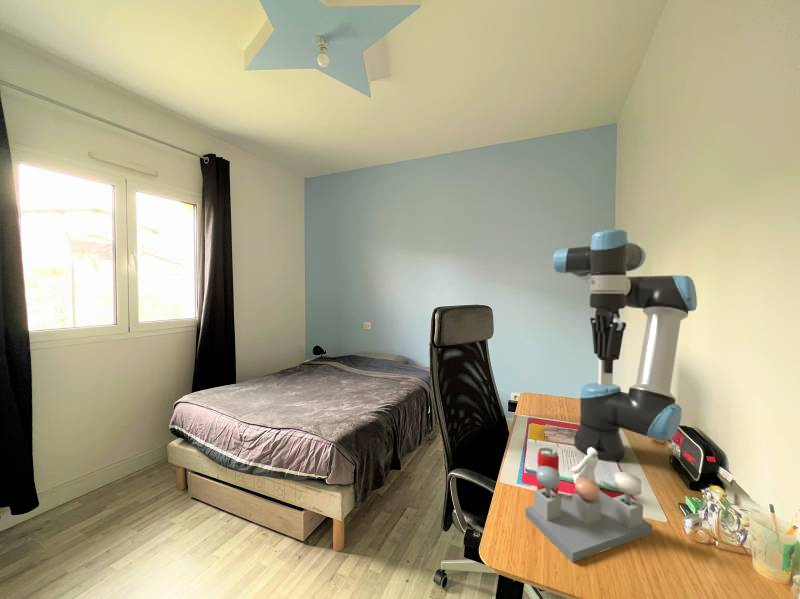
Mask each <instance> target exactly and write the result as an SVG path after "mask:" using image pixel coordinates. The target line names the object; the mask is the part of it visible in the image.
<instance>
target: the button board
mask: <svg viewBox="0 0 800 599" xmlns="http://www.w3.org/2000/svg"><path fill="white" fill-rule="evenodd" d="M533 491H534V496H533V497H534V501H533V505H532V506H531V505H530V506H527V507H525V509H524V510H525V513H524V514H525V515H524V516H525V517H526V518H527V519H528V520H529V522H531V523H532V524H533V525H534V526H535V527H536V528H537V529H538V530H539V531H540V532H541V533H542V534H543V535H544V536H545V537H546V538H547V539H548V540H549V541H550V542H551V543H552V544H553V545H554V546H555V547H556V548H557V549H558V550H559V551H560V552H561V553H562V554H563V555H564V556H565V557H566V558H567V559H568V560H569V561H570V562H571V563H575V562H578V561H580V560H583V558H584V559H586V558H589V557H591V556H590V555H592V556H594V555H593V554H595V555H596V553H597V552H600V551H602V550H605V549H608V548H611V549H613V548H612V547H614V548H616V547H615V546H617V547H619V546H622V545H625V544H627V543H631V542H632V541H636V540H638V539H641V538H644V537H647V536H651V535H652V534H653V525H652V524H651V523H649V522H648V521H647V520H645V519H644V505H643V504H641V503H639V502H638V501H636V500H635V499H633V498H632V497H631V505H630V506H628V505H627V504H625V503H624V494H621V495H618V496H615V497H611V496H609V495H608V494H606V493H604V492H603V491H602V490H600V489H599V499H598V500H595V501H591V500H590V501H589V502H587V501H585V500H584V498H582V497H580V496H579V495H578V494H577V493H576V492H575V493H573V494H572V495H568V496H564V497H561V496H560V495H559V494H558V495H557V494H555V493H554V492H553V491H552V490H550V498H546V497H545V488H544V489H540V490H533ZM618 545H619V546H618ZM608 550H609V549H608ZM600 553H601V552H600ZM597 554H598V553H597ZM588 556H589V557H588ZM585 557H586V558H585Z"/></svg>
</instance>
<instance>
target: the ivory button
mask: <svg viewBox="0 0 800 599" xmlns="http://www.w3.org/2000/svg"><path fill="white" fill-rule="evenodd" d="M614 487H616V489H618V490H619V491H620V492H623V493H624V494H623V495H624V503H625V504H627V505H628V506H630V505H631V498H632V496H639V495H641V494H642V480H641V479H640V478H639V477H638V476H636V475H634V474H632V473H629V472H624V471H617V472H615V474H614ZM631 495H632V496H631Z"/></svg>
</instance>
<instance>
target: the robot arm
mask: <svg viewBox="0 0 800 599" xmlns="http://www.w3.org/2000/svg"><path fill="white" fill-rule="evenodd" d="M645 261H646V252H645V250H644V249H643V248H642V247H641V246H640V245H638V244H637V243H633V242H629V239H628V233H627V231H625V230H624V229H609V230H607V229H606V230H601V231H596V232H595V233H594V234H592V235H591V241H590V245H588V246H578V247H567V248H562V249H557V250H556V251H555V252H554V254H553V257H552V265H553V266H552V267H553V269H554V270H555V272H557V273H559V274H572V275H574V276H575V277H577V278H579V279H581V280H582V281H584V282H585V283H587V284H589V285H590V286H589V288H590V289H589V290H590V291H591V293H590V294H589V306H590V308H591V309H592V308H593V309H595V313H594V317H590V319H589V321H590V325H591V332H592V333H591V334H592V343H593V346H592V347H593V352H594V354H595V355H596V356H597V358H598V371H597V372H598V373H597V375H598V376H597V377H598V378H597V382H591V383H585V384H584V385H582V387H581V389H580V395H579V398H580V400H579V401H580V406H579V407H580V408H579V409H580V412H579V413H580V416H579V421H580V422H579V426H578V428H577V430H576V432H575V435H574V439H573V444H574V447H575V448H576V450H578V451H580V453H582V454H585V456H587V455H588V454H587V450H588V448H590V447H592V448H594V449H595V450H596V451H597V453H598V454H597V457H598V460H602V459H604V460H603V461H608V460H615V461H614V462H616V461H622V460H623V459H625V457H626V448H625V446H624V444H623V440H622V436H621V433H620V429H623V430H627V431H630V432H632V433H636V434H639V435H642V436H645V437H648V438H649V439H655V440H659V441H662V442H666V441H667V442H668V441H671V440H672V439H673V438H674V437H675V435H676V434H677V433H678V432H677V431H678V430H679V426H680V423H681V419H682V413H683V412H682V407H681V406H680V405H679V404H677V403H676V400H677V399H676V398H675V397H674V395H673V394H672V393H671V387H672V380H673V375H674V367H675V362H676V354H677V348H678V340H679V334H680V327H681V322H682V320H684V319H687V318H688V316H689V312H694V311H696V309H697V306H698V301H697V300H698V299H697V298H698V297H697V290H696V286H695V283H694V280H693V279H692V277H691V276H689V275H675V274H672V275H650V276H649V275H648V276H647V275H646V276H642V275H641V276H627V272H631V271H635V270H637V269H638V268H640V267H642V265H644V262H645ZM626 307H628V308H633V309H642V313H643V314H644V315H645V316H646V317H647V319H646V325H645V329H644V334H643V342H642V347H641V353H640V358H639V364H638V370H637V376H636V383H635V384H633V385H631V386H629V389H628V392H623V391H622V388H621V387H620V386H619V385H618V384H617V385H616V384H615V383H613V381H614V379H613V378H614V376H613V375H614V361H615V360H618V361H619V359H620V355H621V351H622V350H621V349H622V343H623V337H624V332H625V330H626V327H627V323H626V322H625V321H624V322H623V321H621V320H620V318H621V315H620V309H625V308H626Z"/></svg>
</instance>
